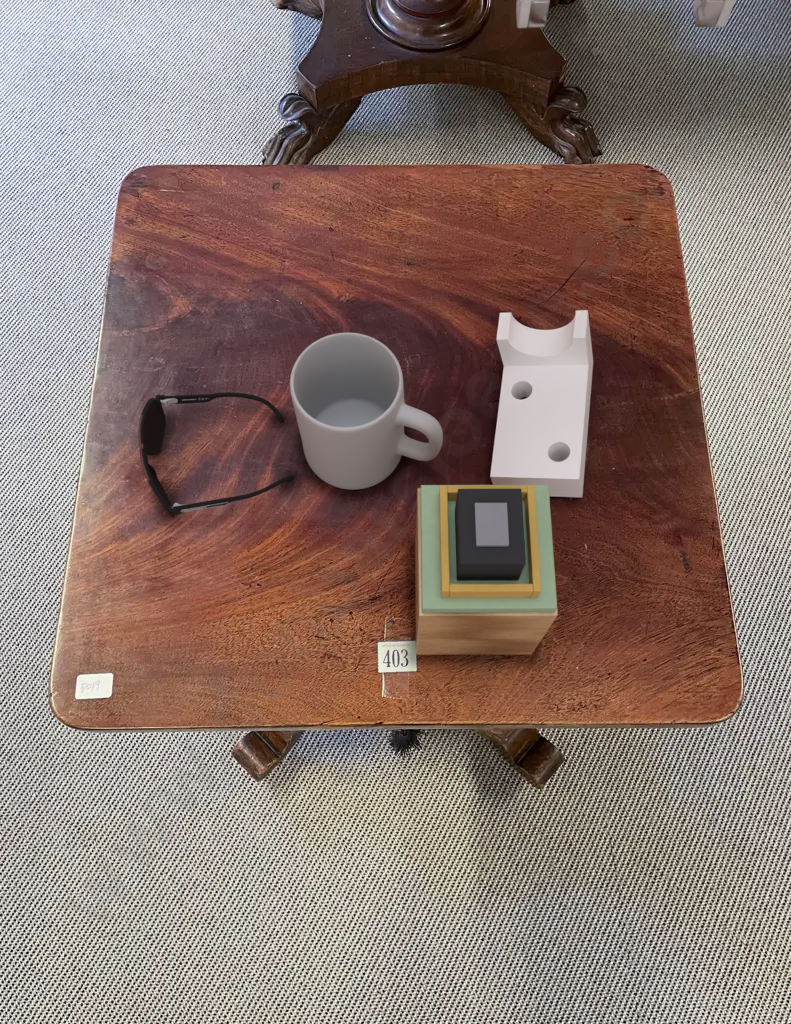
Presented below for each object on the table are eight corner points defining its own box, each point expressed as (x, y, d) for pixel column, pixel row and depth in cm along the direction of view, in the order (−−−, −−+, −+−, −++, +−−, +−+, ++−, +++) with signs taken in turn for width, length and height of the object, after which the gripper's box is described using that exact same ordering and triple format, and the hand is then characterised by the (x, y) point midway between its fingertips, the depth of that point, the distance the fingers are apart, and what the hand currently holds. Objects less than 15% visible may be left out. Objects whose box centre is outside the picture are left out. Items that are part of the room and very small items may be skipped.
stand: (525, 545, 70) (548, 487, 59) (531, 654, 67) (558, 615, 55) (414, 545, 70) (417, 487, 59) (416, 654, 67) (418, 615, 56)
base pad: (546, 490, 59) (552, 475, 56) (554, 612, 56) (561, 602, 53) (420, 490, 59) (421, 475, 56) (422, 612, 56) (422, 602, 53)
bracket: (512, 362, 77) (499, 312, 71) (593, 361, 75) (587, 310, 68) (496, 494, 73) (481, 454, 66) (582, 497, 70) (575, 456, 64)
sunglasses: (142, 418, 74) (133, 388, 70) (280, 403, 76) (280, 373, 72) (153, 531, 70) (144, 507, 66) (298, 511, 73) (299, 487, 68)
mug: (287, 471, 72) (269, 409, 62) (327, 388, 75) (315, 316, 65) (420, 519, 71) (424, 463, 61) (456, 432, 74) (464, 365, 63)
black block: (514, 508, 57) (522, 486, 54) (518, 580, 55) (526, 562, 52) (454, 508, 57) (458, 486, 54) (456, 580, 55) (460, 562, 52)
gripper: (956, -354, 34) (803, -23, 47) (439, -350, 34) (428, -21, 47) (997, -258, 32) (825, 62, 45) (442, -254, 32) (430, 64, 45)
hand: (618, 19), depth 46 cm, fingers open, 8 cm apart
